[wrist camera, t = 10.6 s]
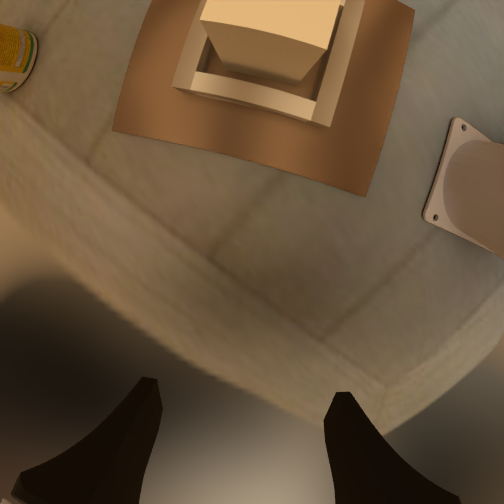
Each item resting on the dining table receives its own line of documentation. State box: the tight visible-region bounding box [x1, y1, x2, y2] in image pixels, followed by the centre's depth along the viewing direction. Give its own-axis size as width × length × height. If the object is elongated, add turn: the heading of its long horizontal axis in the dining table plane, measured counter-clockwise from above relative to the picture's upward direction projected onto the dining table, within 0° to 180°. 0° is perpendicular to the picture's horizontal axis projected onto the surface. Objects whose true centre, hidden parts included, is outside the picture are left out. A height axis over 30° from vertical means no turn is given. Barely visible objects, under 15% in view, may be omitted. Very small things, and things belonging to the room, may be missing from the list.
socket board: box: [112, 0, 415, 197], centre depth 13 cm, size 16×14×4 cm
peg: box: [200, 0, 341, 87], centre depth 10 cm, size 4×4×8 cm
